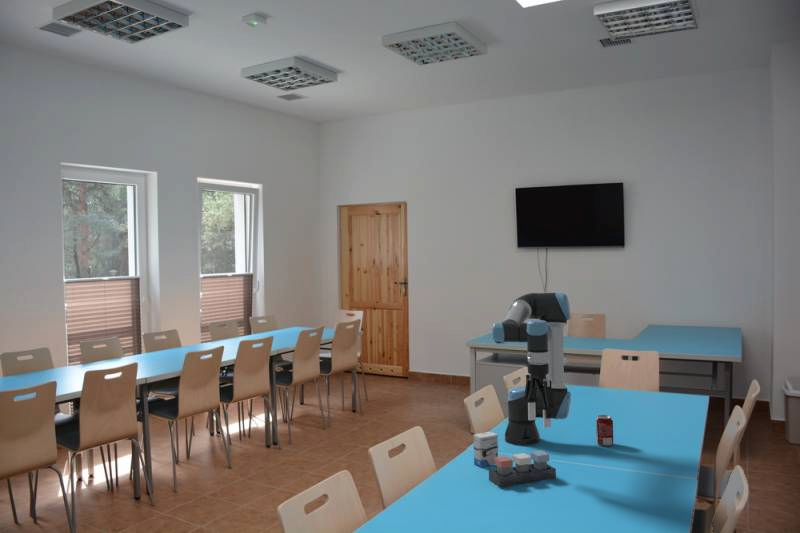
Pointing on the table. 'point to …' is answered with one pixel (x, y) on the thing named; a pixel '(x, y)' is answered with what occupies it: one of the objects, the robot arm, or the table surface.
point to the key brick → (503, 465)
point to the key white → (522, 462)
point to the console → (522, 476)
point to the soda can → (604, 430)
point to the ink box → (485, 448)
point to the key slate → (540, 459)
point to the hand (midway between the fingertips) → (539, 423)
